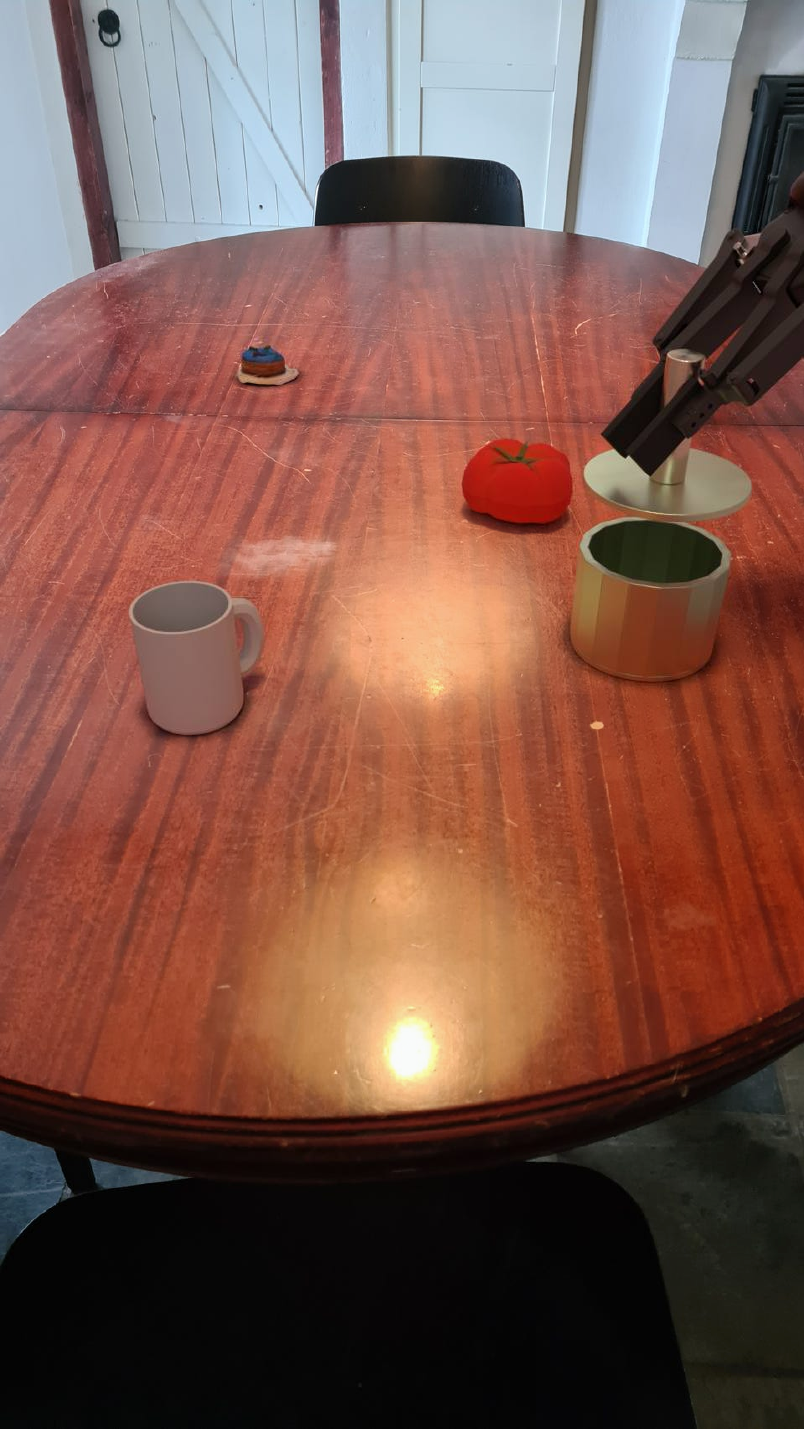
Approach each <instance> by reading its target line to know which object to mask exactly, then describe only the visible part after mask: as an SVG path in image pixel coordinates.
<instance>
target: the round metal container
mask: <svg viewBox="0 0 804 1429" xmlns="http://www.w3.org/2000/svg"><path fill="white" fill-rule="evenodd" d="M577 553H578V554H577V562H576V571H575V581H574V589H573V597H572V598H573V599H572V607H571V615H570V616H571V617H570V625H569V634H570V642H571V646H572V648H573V650H574V651H575V653H576V655H578V656H579V657H580V658H581V660H583V661H584V662H585V663H587V664H588V665H590V666H591V667H593V668H595V669H597V670H598V671H600V672H602V673H605V674H607V675H610V676H613V677H617V678H620V679H625V680H628V681H636V682H645V683H648V682H649V683H651V682H652V683H657V682H660V683H661V682H670V681H675V680H679V679H684V678H687V677H690V676H691V675H693V674H695V673H697V672H699V671H700V670H701V669H703V668H704V666H706V664H707V663H708V662H709V660H710V658H711V656H712V653H713V649H714V643H715V640H716V634H717V629H718V625H719V621H720V616H721V612H722V611H721V610H722V606H723V601H724V596H725V594H726V593H725V592H726V587H727V583H728V578H729V573H730V569H731V564H732V556H733V554H732V552H731V551H730V550H729V548H728V547H727V545H726V544H725V542H724V541H723V540H722V539H721V538H719V537H717V536H716V535H714V534H713V533H711V532H710V531H708V530H706V529H705V528H702V527H700V526H697V525H693V524H691V523H689V522H665V521H655V520H649V519H643V518H639V517H635V516H625V517H619V518H615V519H611V520H607V521H603V522H600V523H598V524H596V525H595V526H593V527H591V528H590V529H589V530H587V531H586V532H584V534H583V535H582V538H581V541H580V543H579V546H578V552H577Z"/></svg>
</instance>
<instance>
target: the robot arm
mask: <svg viewBox="0 0 804 1429" xmlns="http://www.w3.org/2000/svg"><path fill="white" fill-rule="evenodd" d="M733 335H734V336H733ZM732 336H733V337H732ZM730 337H732V338H731V339H730ZM728 339H730V341H729V342H728V343H727V345H726V346H725V347H724V349H723V350H722V351H721V353H719V355H718V357H717V358H716V359H715V360H714V362H713V363H712V365H711V366H710V367H709V368H708V369H705V368H704V369H701V368H699V370H698V376H699V377H700V379H701V380H702V383H703V384H702V383H701V384H700V382H699V381H698V380H696V379H694V378H693V377H691V378H690V379H689V380H688V381H687V382H686V384H685V385H684V386H683V387H682V388H681V389H680V390H679V391H678V393H677V394H676V395H675V396H674V397H673V398H672V399H671V400H670V401H669V403H668V404H667V405H666V406H665V407H664V408H663V409H662V410H661V412H660V413H659V414H658V411H659V404H660V398H661V391H662V384H663V378H664V371H665V364H666V358H667V353H668V352H670V351H672V350H677V349H690V350H695V351H699V352H701V353H703V354H704V355H705V357H706V359H705V361H706V360H707V359H708V358H710V357H711V356H712V355H713V354H714V353H715V352H716V351H717V350H718V349H719V348H720V347H721V346H723V344H725V342H726V341H727V340H728ZM652 345H653V346H654V347H655V348H656V350H657V352H658V354H659V361H658V363H657V364H656V366H655V367H654V368H653V369H652V370H651V371H650V372H649V373H648V375H646V377H645V378H644V379H643V380H642V381H641V382H640V384H639V385H638V386H637V387H636V388H635V389H634V390H633V392H632V394H631V396H630V400H629V401H628V402H627V403H626V404H625V405H624V406H623V407H622V409H621V410H619V412H618V414H616V416H615V417H614V418H613V419H612V420H611V421H610V423H609V424H608V425H607V426H606V427H605V428H604V429H603V431H602V432H600V436H601V437H602V438H603V439H604V440H605V441H606V442H607V443H608V444H609V445H610V447H611V448H612V449H615V450H616V451H617V452H618V454H619V455H621V456H622V457H623V458H625V459H626V458H627V457H628V456H630V457H631V458H632V460H633V461H634V462H635V463H636V464H637V465H638V466H639V467H640V468H641V469H642V470H643V471H644V472H645V473H646V474H647V475H649V476H650V477H651V476H652V474H653V473H654V472H655V471H656V470H657V469H658V468H659V467H660V466H661V465H662V463H663V462H664V461H665V460H666V459H667V458H668V457H669V456H670V455H671V454H672V452H673V451H674V450H675V449H676V448H677V447H678V446H679V445H680V444H681V442H682V441H683V440H684V439H685V438H687V439H689V438H690V437H692V438H693V436H696V434H698V432H699V431H700V430H701V428H703V426H704V425H705V424H706V423H707V422H708V421H709V420H710V419H711V417H713V415H714V414H715V413H716V412H717V411H718V410H719V409H720V408H721V407H722V406H727V405H729V404H731V403H732V402H733V403H741V404H742V406H743V407H748V408H749V407H751V406H753V405H755V404H756V403H757V402H759V400H761V398H762V397H763V396H764V395H765V394H767V393H768V392H769V390H771V389H772V388H773V387H774V386H775V385H777V383H778V382H779V381H780V380H782V378H783V377H784V376H786V374H788V373H789V371H791V370H792V369H793V368H794V367H795V366H796V365H797V364H798V363H799V362H801V360H802V359H804V171H802V173H800V174H799V175H798V177H797V178H796V180H795V181H794V182H793V183H792V185H791V187H790V191H789V200H788V204H787V206H786V209H785V211H784V212H783V213H781V214H780V215H779V216H778V217H776V218H774V219H773V220H772V221H771V222H769V223H767V224H766V225H765V227H764V228H763V229H762V230H761V232H759V233H754V234H750V235H743V232H742V231H741V230H740V229H739V228H738V227H737V228H736V227H735V228H732V229H730V230H729V231H728V232H727V233H726V234H725V236H724V238H723V240H722V242H721V244H720V246H719V248H718V251H717V253H716V255H715V257H714V258H713V260H712V261H711V262H710V263H709V264H708V266H707V267H706V268H705V270H704V271H703V272H702V274H701V275H700V277H699V278H698V279H697V281H696V282H694V284H693V285H692V286H691V288H690V289H689V291H688V292H687V293H686V295H685V296H684V297H683V298H682V300H681V301H680V303H679V304H678V305H677V306H676V308H675V309H674V310H673V312H672V313H671V314H670V315H669V317H668V318H667V320H666V321H665V322H664V323H663V325H662V326H661V327H660V328H659V330H658V331H657V332H656V334H655V335H654V337H653V338H652ZM751 379H752V380H753V381H750V380H751Z"/></svg>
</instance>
